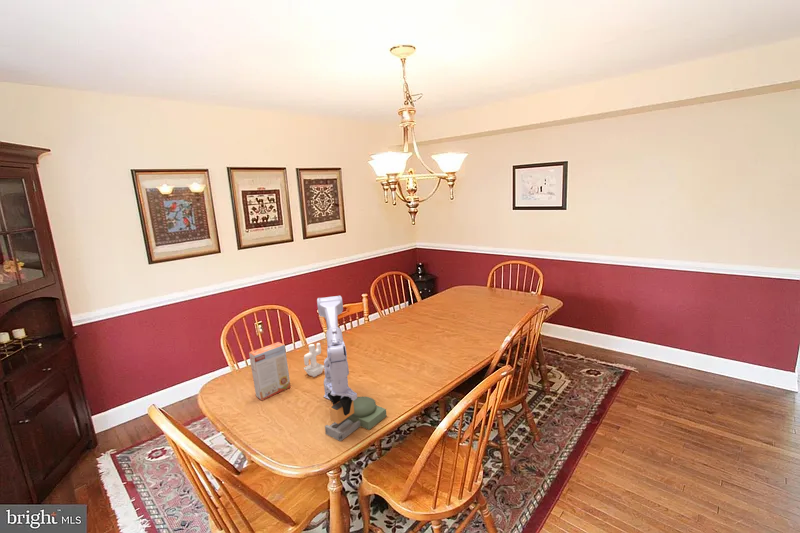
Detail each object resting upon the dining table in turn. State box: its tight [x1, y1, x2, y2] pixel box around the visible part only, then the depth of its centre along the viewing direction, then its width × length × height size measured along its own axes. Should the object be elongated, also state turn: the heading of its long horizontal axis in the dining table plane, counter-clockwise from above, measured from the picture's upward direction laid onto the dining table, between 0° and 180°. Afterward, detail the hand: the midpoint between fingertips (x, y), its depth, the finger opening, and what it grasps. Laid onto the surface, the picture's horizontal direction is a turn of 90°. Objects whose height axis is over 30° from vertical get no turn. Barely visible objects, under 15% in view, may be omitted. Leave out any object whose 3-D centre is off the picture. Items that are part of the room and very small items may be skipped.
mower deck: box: [324, 396, 387, 442], centre depth 143 cm, size 16×21×5 cm
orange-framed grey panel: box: [328, 401, 354, 424], centre depth 138 cm, size 4×8×5 cm, turn 142°
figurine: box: [303, 342, 324, 378], centre depth 181 cm, size 7×9×15 cm
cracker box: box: [248, 341, 291, 401], centre depth 166 cm, size 14×6×21 cm, turn 135°
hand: (342, 411), depth 138 cm, fingers closed on orange-framed grey panel, 4 cm apart
